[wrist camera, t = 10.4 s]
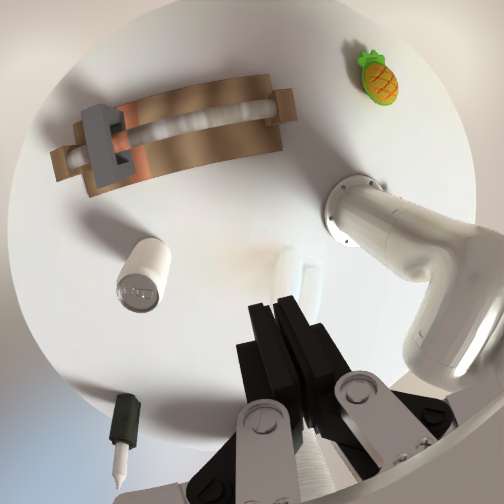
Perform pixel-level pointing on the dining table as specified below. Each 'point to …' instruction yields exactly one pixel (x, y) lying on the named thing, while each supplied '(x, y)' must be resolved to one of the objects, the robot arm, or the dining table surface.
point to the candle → (124, 433)
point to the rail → (196, 139)
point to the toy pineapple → (378, 78)
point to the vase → (312, 469)
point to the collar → (106, 145)
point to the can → (144, 276)
